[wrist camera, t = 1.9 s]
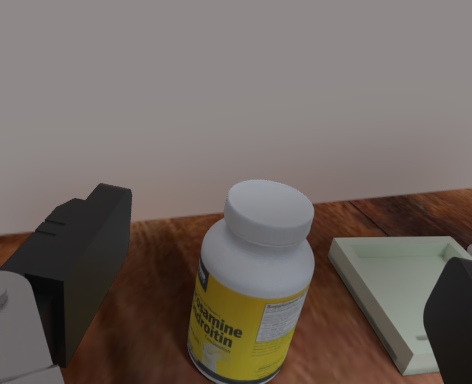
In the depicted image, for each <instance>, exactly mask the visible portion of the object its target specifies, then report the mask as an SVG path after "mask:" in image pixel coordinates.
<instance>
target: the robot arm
mask: <svg viewBox="0 0 472 384" xmlns="http://www.w3.org/2000/svg"><path fill="white" fill-rule="evenodd" d="M131 202H132V192H131V190H130V189H127V188H122V187H117V186H113V185H108V184H103V183H100V184H99V185H98V186H97V187H96V188H95V189H94V190H93V192H92V193H91V194H90V195H89V196H88V198H87V199H86V200H82V199H76V198H74V199H72V200H70V201H68V202H66V203H64V204H62V205H60V206H58V207H56V208H55V209H54V211H52V213H51V214H50V215H49V216H48V217H47V218H46V219H45V222H42V223H41V224H40V225H39V227H38V228H37V229H36V230H35V233H32V234H31V235H30V236H29V237H28V238H27V240H26V241H25V242H24V243H23V244H22V245H21V246H20V247H19V248H18V249H17V250H16V251H15V252H14V254H13V255H12V256H11V257H10V258H9V259H8V260H7V261H6V262H5V263H4V264H3V265H2V266H1V268H0V384H64V380H63V377H62V374H61V371H60V368H59V367H63V368H67V366H68V364H69V362H70V360H71V358H72V357H73V355H74V353H75V351H76V349H77V347H78V345H79V344H80V342H81V340H82V338H83V336H84V334H85V333H86V331H87V329H88V327H89V325H90V323H91V322H92V320H93V318H94V316H95V314H96V312H97V311H98V309H99V307H100V305H101V303H102V301H103V299H104V298H105V296H106V294H107V292H108V290H109V288H110V287H111V285H112V283H113V281H114V279H115V277H116V276H117V274H118V272H119V270H120V268H121V266H122V264H123V262H124V260H125V257H126V254H127V250H128V245H129V236H130V220H131V205H132V203H131ZM423 324H424V328H425V331H426V334H427V337H428V340H429V343H430V345H431V348H432V351H433V354H434V357H435V359H436V362H437V365H438V368H439V371H440V374H441V376H442V379H443V382H444V384H472V260H469V259H464V258H459V257H452V258H450V259H449V260H448V262H447V263H446V265H445V267H444V269H443V271H442V273H441V274H440V276H439V278H438V280H437V282H436V284H435V286H434V288H433V290H432V292H431V294H430V296H429V298H428V300H427V302H426V304H425V307H424V313H423Z"/></svg>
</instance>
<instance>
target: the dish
mask: <svg viewBox="0 0 472 384" xmlns="http://www.w3.org/2000/svg"><path fill="white" fill-rule="evenodd" d="M327 257H328V258H329V260H330V262H331V263H332V265H333V266H334V268H335V269H336V271H337V273H338V274H339V276H340V277H341V279H342V281H343V282H344V284H345V285H346V287H347V289H348V290H349V292H350V293H351V295H352V296H353V298H354V300H355V301H356V303H357V304H358V306H359V308H360V309H361V311H362V312H363V314H364V315H365V317H366V319H367V320H368V322H369V323H370V325H371V327H372V328H373V330H374V331H375V333H376V335H377V336H378V338H379V339H380V341H381V342H382V344H383V346H384V347H385V349H386V350H387V352H388V354H389V355H390V357H391V358H392V360H393V362H394V363H395V365H396V366H397V368H398V369H399V371H400V373H401V374H402V376H405V375H414V374H422V373H431V372H440V371H439V368H438V365H437V362H436V359H435V357H434V354H433V351H432V348H431V345H430V343H429V340H428V337H427V334H426V331H425V328H424V324H423V313H424V307H425V304H426V302H427V300H428V298H429V296H430V294H431V292H432V290H433V288H434V286H435V284H436V282H437V280H438V278H439V276H440V274H441V273H442V271H443V269H444V267H445V265H446V263H447V262H448V260H449V259H450V258H452V257H459V258H464V259H469V260H472V256H471V255H470V254H469V253H468V252H467V251H466V250H464V249H463V248H462V247H461V246H460V245H459V244H458V243H457V242H456V241H455V240H454V239H453V238H452V237H451V236H438V237H355V238H333V241H332V244H331V247H330V250H329V253H328V256H327Z"/></svg>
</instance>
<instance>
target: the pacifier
mask: <svg viewBox="0 0 472 384" xmlns="http://www.w3.org/2000/svg"><path fill="white" fill-rule="evenodd" d="M467 252H468V253H469V254H470V255H471V256H472V244H470V245H469V246H468V247H467Z"/></svg>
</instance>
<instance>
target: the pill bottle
mask: <svg viewBox="0 0 472 384" xmlns="http://www.w3.org/2000/svg"><path fill="white" fill-rule="evenodd" d="M313 217H314V208H313V205H312V203H311V202H310V200H309V199H308V198H307V197H306V196H305V195H304V194H302V193H301V192H299V191H298V190H296V189H294V188H292V187H290V186H287V185H285V184H281V183H278V182H274V181H268V180H246V181H242V182H239V183H237V184H235V185H234V186H232V187H231V188H230V190H229V192H228V194H227V198H226V203H225V208H224V218H223V219H221V220H219V221H218V222H216V223H215V224H214V225H213V226H212V227H211V228H210V229H209V230H208V232H207V233H206V235H205V237H204V239H203V243H202V247H201V253H200V259H199V266H198V272H197V277H196V284H195V290H194V296H193V303H192V310H191V316H190V322H189V329H188V336H187V345H188V351H189V354H190V357H191V359H192V361H193V363H194V364H195V366H196V367H197V368H198V370H199V371H200V372H201V373H202V374H203V375H205V376H206V377H207V378H209V379H210V380H212V381H214V382H215V383H217V384H264V383H266V382H268V381H269V380H271V379H272V378H273V377H274V376H275V375H276V374H277V373H278V371H279V370H280V368H281V367H282V364H283V362H284V360H285V357H286V354H287V351H288V348H289V345H290V342H291V339H292V336H293V333H294V330H295V327H296V324H297V321H298V318H299V315H300V312H301V309H302V306H303V303H304V300H305V297H306V294H307V291H308V288H309V285H310V282H311V279H312V276H313V272H314V266H315V264H314V255H313V252H312V249H311V247H310V245H309V243H308V241H307V240H306V237H307V235H308V234H309V232H310V228H311V224H312V220H313Z"/></svg>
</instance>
